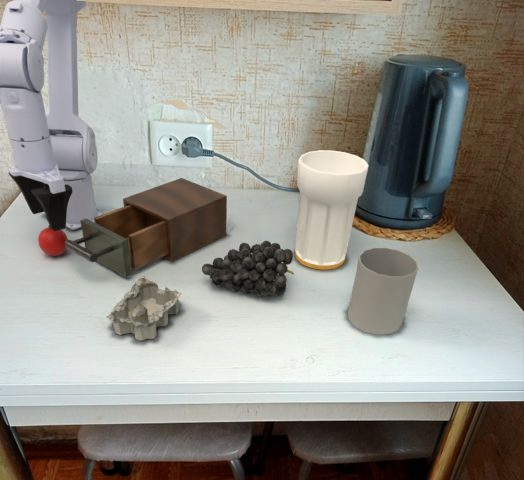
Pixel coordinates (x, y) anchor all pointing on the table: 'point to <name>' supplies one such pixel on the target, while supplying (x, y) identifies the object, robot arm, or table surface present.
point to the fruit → (252, 269)
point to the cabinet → (185, 214)
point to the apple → (52, 241)
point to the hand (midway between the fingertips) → (48, 220)
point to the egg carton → (144, 309)
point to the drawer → (122, 239)
